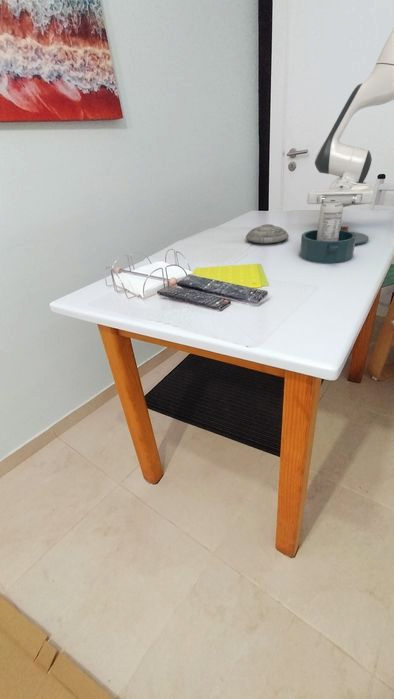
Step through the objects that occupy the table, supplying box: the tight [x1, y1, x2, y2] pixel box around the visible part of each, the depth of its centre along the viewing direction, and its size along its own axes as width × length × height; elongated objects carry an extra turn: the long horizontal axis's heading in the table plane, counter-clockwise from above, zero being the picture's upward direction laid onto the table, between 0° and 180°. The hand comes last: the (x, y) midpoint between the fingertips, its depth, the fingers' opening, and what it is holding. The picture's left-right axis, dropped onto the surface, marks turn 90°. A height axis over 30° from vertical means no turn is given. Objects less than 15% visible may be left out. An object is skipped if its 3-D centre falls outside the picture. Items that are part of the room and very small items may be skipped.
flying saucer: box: [245, 223, 290, 244], centre depth 119 cm, size 15×15×6 cm
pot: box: [299, 229, 356, 264], centre depth 100 cm, size 15×20×6 cm
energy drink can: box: [317, 199, 344, 241], centre depth 98 cm, size 6×6×15 cm
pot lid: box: [340, 224, 369, 245], centre depth 112 cm, size 16×16×5 cm
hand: (338, 200), depth 106 cm, fingers open, 8 cm apart
